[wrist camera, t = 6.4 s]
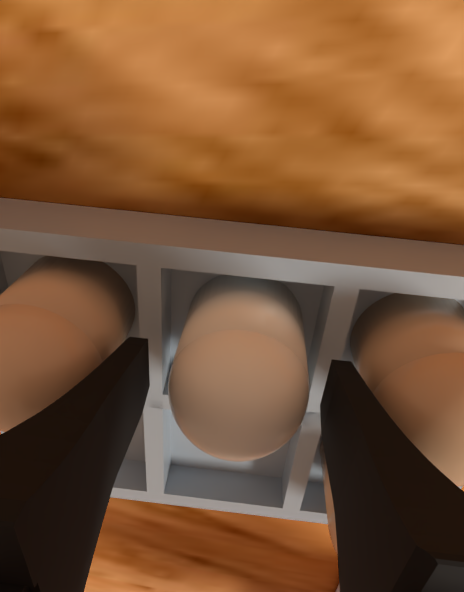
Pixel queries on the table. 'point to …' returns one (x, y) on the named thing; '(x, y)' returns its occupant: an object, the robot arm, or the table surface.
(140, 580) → the table surface
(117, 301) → the brown egg
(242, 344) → the light brown egg
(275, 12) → the table surface
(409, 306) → the brown egg
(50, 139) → the table surface
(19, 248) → the egg tray
